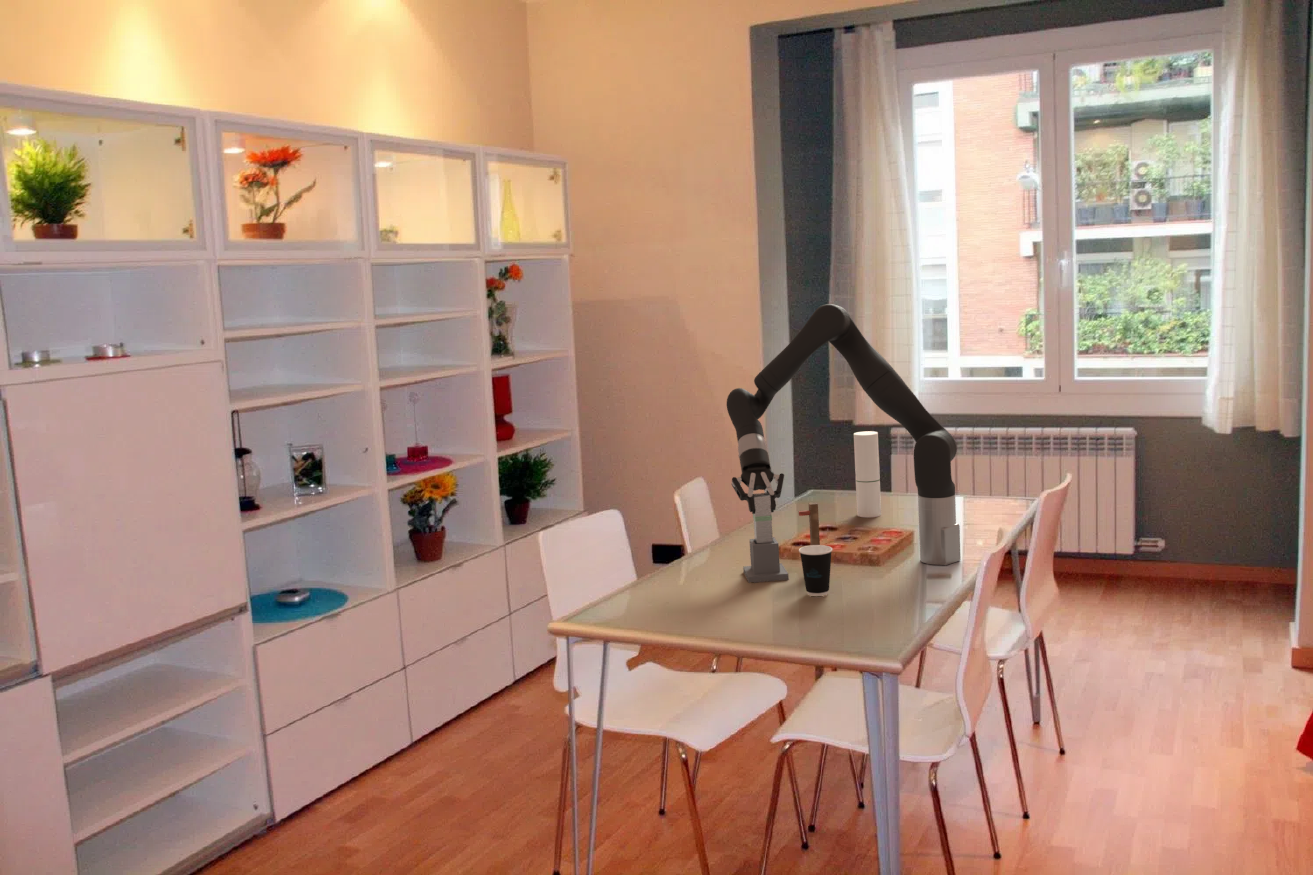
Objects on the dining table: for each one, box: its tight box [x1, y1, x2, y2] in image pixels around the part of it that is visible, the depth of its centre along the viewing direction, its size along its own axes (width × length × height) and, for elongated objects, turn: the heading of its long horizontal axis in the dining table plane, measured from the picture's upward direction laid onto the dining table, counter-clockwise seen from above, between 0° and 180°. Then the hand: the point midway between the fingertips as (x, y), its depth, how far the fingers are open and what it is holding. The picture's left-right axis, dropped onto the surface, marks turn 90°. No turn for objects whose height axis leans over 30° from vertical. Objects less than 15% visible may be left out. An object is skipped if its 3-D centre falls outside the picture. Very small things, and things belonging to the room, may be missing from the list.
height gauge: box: [798, 502, 821, 545], centre depth 290 cm, size 6×4×18 cm
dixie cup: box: [798, 544, 833, 597], centre depth 271 cm, size 8×8×11 cm
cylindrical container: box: [853, 430, 882, 518], centre depth 346 cm, size 7×7×25 cm
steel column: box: [752, 492, 773, 544], centre depth 288 cm, size 4×4×14 cm
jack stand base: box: [742, 537, 790, 584], centre depth 290 cm, size 10×10×9 cm
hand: (763, 511), depth 286 cm, fingers closed on steel column, 4 cm apart
